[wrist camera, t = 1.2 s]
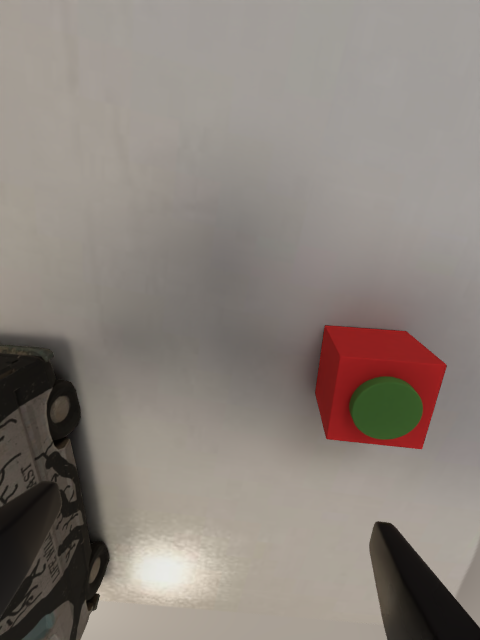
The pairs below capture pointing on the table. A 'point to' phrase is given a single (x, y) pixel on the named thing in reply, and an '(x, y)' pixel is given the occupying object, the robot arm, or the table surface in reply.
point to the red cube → (376, 386)
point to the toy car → (59, 466)
